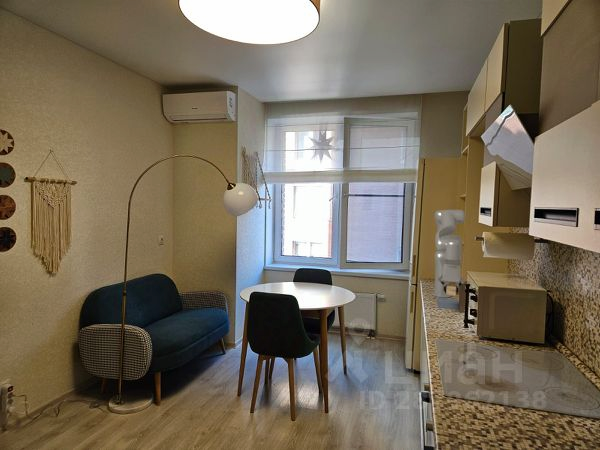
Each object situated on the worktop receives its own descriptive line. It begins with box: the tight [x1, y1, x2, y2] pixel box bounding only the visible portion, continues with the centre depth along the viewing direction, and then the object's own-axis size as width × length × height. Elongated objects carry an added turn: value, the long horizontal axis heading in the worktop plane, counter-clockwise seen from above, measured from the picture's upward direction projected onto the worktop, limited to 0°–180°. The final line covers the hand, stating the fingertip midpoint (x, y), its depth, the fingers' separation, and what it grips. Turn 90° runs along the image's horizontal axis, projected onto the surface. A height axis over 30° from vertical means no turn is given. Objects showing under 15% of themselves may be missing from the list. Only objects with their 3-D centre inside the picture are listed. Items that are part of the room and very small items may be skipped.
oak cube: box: [446, 283, 457, 297], centre depth 214 cm, size 5×5×5 cm
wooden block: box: [458, 280, 468, 313], centre depth 218 cm, size 9×4×18 cm, turn 75°
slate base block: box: [436, 297, 459, 311], centre depth 230 cm, size 12×12×4 cm
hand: (450, 292), depth 214 cm, fingers closed on oak cube, 5 cm apart
